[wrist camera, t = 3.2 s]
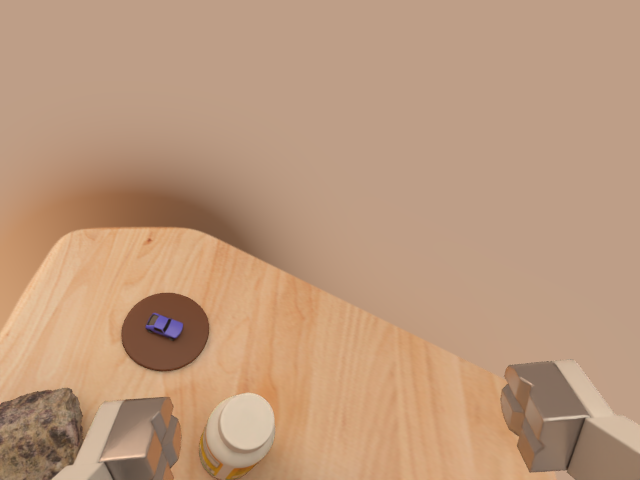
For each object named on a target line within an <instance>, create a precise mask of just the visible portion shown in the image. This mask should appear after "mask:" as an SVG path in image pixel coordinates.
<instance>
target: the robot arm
mask: <svg viewBox="0 0 640 480" xmlns="http://www.w3.org/2000/svg"><path fill="white" fill-rule="evenodd" d="M505 379H506V381H507V383H508V384H507V385H506V386H505V387H504V388H503V389H502V392H501V399H500V400H501V408H502V413H503V416H504V419H505V422H506V424H507V426H508V428H509V430H511V431H512V432H513V433H515V434H516V435H517V436H519V439H518V444H517V447H518V449H519V451H520V453H521V456H522V458H523V460H524V462H525V464H526V466H527V468H528V470H529V472H546V471H560V470H567V473H568V474H570V475H571V476H572V477H573V478H574V479H575V480H640V425H639V424H637V423H635V422H633V421H632V420H630V419H629V418H627V417H625V416H623V415H615V414H614V412H613V411H612V409H611V408H610V407H609V405H608V404H607V403H606V401H605V400H604V399H603V397H602V396H601V394H600V393H599V392H598V390H597V389H596V388H595V386H594V385H593V384H592V383H591V381H590V380H589V378H588V377H587V376H586V375H585V373H584V372H583V370H582V369H581V368H580V366H579V365H578V364H577V362H575V361H574V360H572V359H570V360H560V361H550V362H549V361H547V362H536V363H527V364H517V365H509V366H508V367H507V368H506V371H505ZM172 410H173V404H172V402H171V399H170V397H159V398H143V399H128V400H117V401H104V402H103V404H102V405H101V406H100V407H99V408H98V410H97V413H96V415H95V417H94V419H93V422H92V424H91V426H90V428H89V430H88V433H87V435H86V437H85V439H84V441H83V444H82V446H81V448H80V450H79V453H78V455H77V457H76V459H75V461H74V464H73V465H69V466H66V467H65V468H63V469H62V470H61V471H60V472H59V473H58V474H57V475H56V476H55V477H53V478H52V479H51V480H174V477H173V474H172V471H171V469H170V468H171V467H172V466H173V465H174V464H175V463H176V462H177V460H178V458H179V454H180V449H181V428H180V424H179V421H178V419H177V418H176V417H174V416H173V415H171V414H172Z"/></svg>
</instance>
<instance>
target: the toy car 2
mask: <svg viewBox="0 0 640 480" xmlns="http://www.w3.org/2000/svg"><path fill="white" fill-rule="evenodd" d="M208 334H209V323H208V319H207V316H206V314H205V312H204V311H203V309H202V308H201V307H200V306H199V305H198V304H197V303H196V302H195V301H193V300H191V299H190V298H188V297H185V296H183V295H179V294H175V293H160V294H155V295H152V296H149V297H147V298H145V299H143V300H142V301H140V302H139V303H137V304H136V305H135V306H134V307H133V308H132V309H131V311H130V312H129V314H128V315H127V317H126V319H125V321H124V324H123V327H122V342H123V346H124V348H125V350H126V352H127V354H128V355H129V356H130V357H131V358H132V359H133V360H134V361H135V362H136V363H138V364H139V365H141V366H143V367H146V368H148V369H152V370H157V371H171V370H175V369H179V368H182V367H184V366H186V365H188V364H189V363H191V362H192V361H193V360H194V359H196V358H197V356H198V355H199V354H200V353H201V351H202V350H203V348H204V346H205V344H206V341H207V338H208Z"/></svg>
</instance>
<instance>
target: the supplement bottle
mask: <svg viewBox="0 0 640 480" xmlns="http://www.w3.org/2000/svg"><path fill="white" fill-rule="evenodd" d="M274 437H275V421H274V413H273V410H272V408H271V406H270V404H269V403H268V402H267V401H266V400H265V399H264V398H263V397H261V396H259V395H257V394H254V393H242V394H239V395H235V396H232V397H229V398H227V399H225V400H223V401H222V402H221V403H219V404H218V405H217V406H216V407H215V409H214V410H213V411H212V413H211V415H210V417H209V419H208V421H207V424H206V426H205V429H204V431H203V434H202V436H201V439H200V443H199V456H200V460H201V463H202V465H203V466H204V468H205V469H206V471H207V472H208V473H209V474H211V475H212V476H214V477H215V478H218V479H221V480H233V479H237V478H239V477H241V476H243V475H245V474H246V473H248V472H249V471H250V470H251V469H252V468H253V467H254V466H255V465H256V464H257V463H258V462H259V461H261V460H262V459H263V458H264V457H265V455H266V454H267V453H268V451H269V450H270V448H271V446H272V444H273V441H274Z"/></svg>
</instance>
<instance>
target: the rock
mask: <svg viewBox="0 0 640 480" xmlns="http://www.w3.org/2000/svg"><path fill="white" fill-rule="evenodd" d="M82 417H83V415H82V412H81V409H80V407H79V401H78V398H77V397H76V396H75V395H74V394H73V393H72V390H71V389H70V388H62V389H58V390H54V391H51V390H45V391H41V392H39V391H37V392H33V393H31V394H26V395H24V396H20V397H18V398H16V399H14V400H11V401H7V402H3V403H1V404H0V480H51V479H52V478H53V477H55V476H56V475H57V474H58V473H59V472H60V471H61V470H62V469H63V468H65V467H66V466H69V465H73V464H74V461H75V459H76V457H77V455H78V453H79V450H80V448H81V446H82V444H83V440H82V433H83V431H82V426H81V422H82Z"/></svg>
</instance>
